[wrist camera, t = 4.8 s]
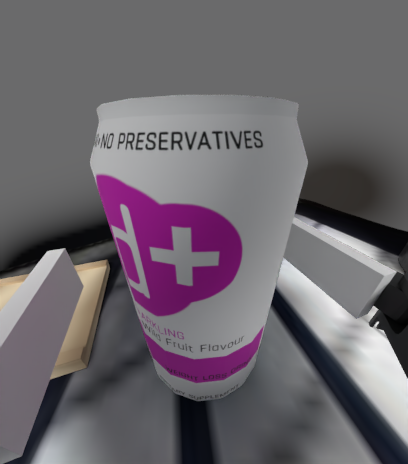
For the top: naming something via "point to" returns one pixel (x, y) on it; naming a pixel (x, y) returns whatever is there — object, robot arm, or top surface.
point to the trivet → (83, 319)
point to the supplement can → (200, 225)
